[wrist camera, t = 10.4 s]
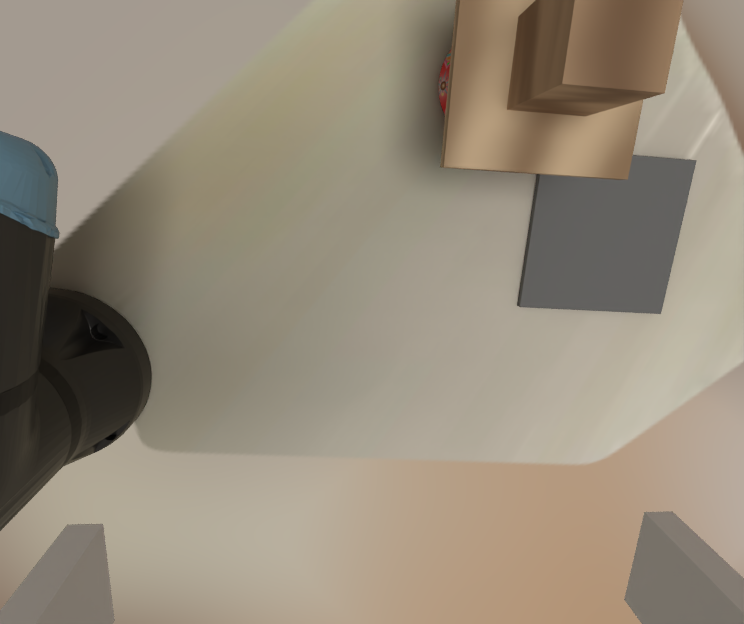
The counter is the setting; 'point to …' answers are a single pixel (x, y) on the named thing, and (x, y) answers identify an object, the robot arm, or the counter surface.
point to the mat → (605, 238)
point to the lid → (554, 83)
